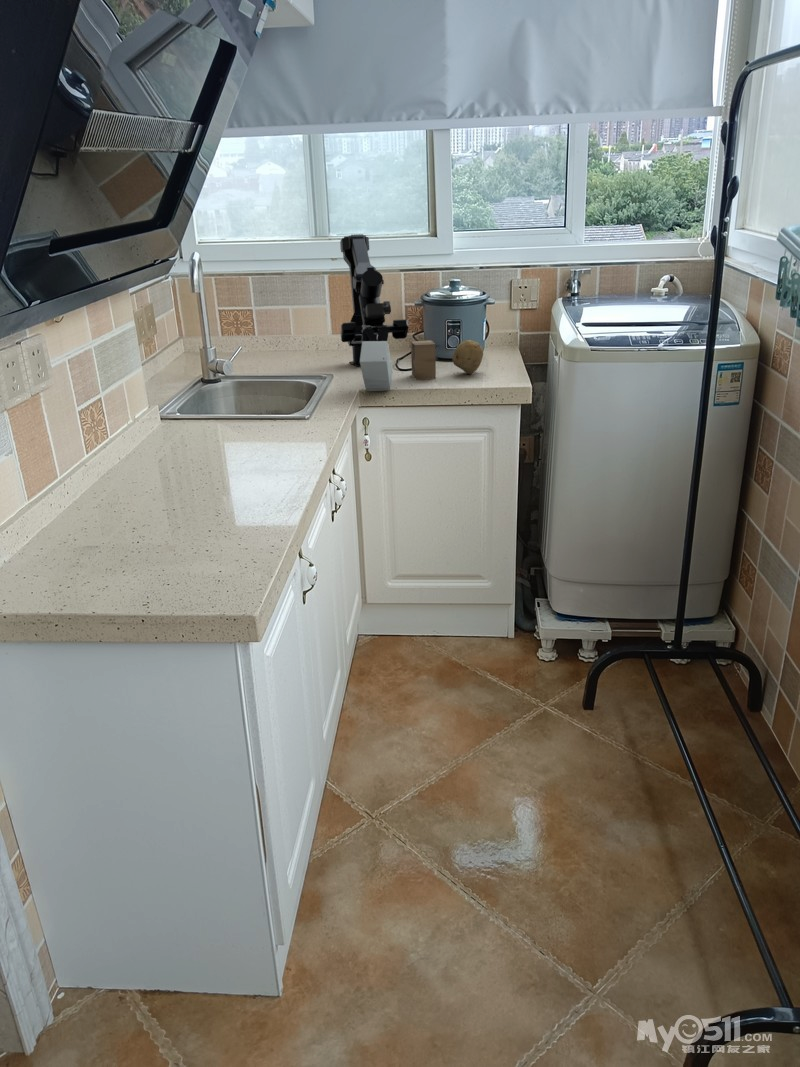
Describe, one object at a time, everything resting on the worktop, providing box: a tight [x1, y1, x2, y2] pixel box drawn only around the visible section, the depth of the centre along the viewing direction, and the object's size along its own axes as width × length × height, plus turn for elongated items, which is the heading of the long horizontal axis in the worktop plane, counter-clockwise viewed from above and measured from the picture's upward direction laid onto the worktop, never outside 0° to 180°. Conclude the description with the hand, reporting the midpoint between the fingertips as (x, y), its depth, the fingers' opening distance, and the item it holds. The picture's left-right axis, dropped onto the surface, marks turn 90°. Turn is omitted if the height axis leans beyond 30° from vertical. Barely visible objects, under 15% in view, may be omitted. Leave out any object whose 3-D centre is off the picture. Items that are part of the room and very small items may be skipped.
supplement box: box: [360, 340, 393, 392], centre depth 229 cm, size 7×7×13 cm
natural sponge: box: [452, 339, 484, 375], centre depth 248 cm, size 9×9×10 cm
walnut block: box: [410, 339, 437, 381], centre depth 246 cm, size 6×6×10 cm
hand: (378, 355), depth 231 cm, fingers closed
